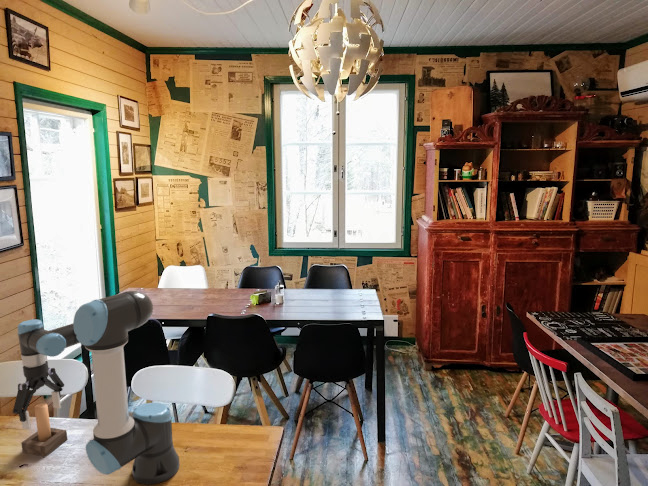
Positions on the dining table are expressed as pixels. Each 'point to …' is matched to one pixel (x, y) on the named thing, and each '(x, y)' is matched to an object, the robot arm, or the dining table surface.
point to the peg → (43, 422)
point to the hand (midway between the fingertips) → (42, 417)
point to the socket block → (44, 443)
